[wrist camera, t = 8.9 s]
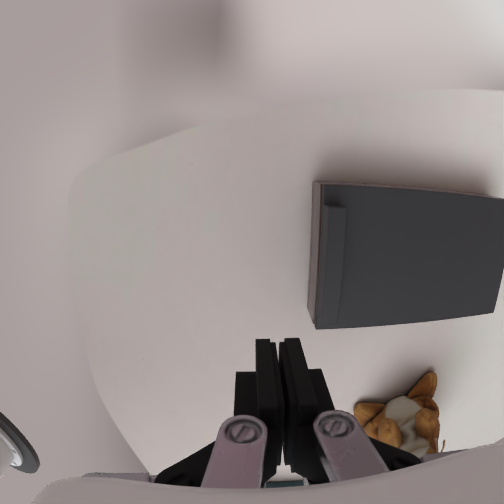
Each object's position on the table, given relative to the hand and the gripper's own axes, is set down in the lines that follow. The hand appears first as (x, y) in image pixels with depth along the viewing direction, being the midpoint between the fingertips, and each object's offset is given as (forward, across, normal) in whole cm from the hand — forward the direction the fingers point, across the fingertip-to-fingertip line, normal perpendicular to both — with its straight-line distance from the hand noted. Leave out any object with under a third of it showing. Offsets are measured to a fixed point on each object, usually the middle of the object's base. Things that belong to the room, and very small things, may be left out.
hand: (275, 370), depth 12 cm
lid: (+11, -13, -1) cm, 17 cm away
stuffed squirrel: (+15, -16, +20) cm, 29 cm away
